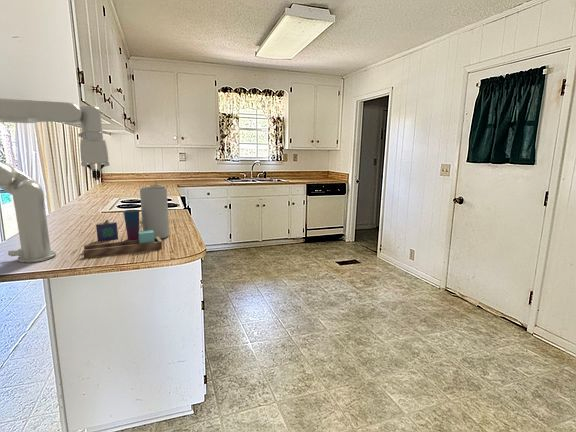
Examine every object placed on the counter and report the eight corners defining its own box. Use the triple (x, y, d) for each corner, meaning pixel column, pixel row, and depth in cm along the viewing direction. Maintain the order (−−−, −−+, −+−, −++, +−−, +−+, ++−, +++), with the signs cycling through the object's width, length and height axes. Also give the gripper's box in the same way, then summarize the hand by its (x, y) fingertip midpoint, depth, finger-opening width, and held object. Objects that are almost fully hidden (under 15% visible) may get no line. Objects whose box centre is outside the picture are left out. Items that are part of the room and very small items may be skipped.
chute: (84, 260, 136) (82, 250, 135) (85, 253, 145) (84, 243, 144) (162, 251, 150) (161, 241, 149) (159, 245, 159) (158, 236, 158)
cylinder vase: (167, 239, 169) (164, 189, 164) (141, 240, 166) (137, 190, 161) (170, 233, 181) (168, 186, 176) (145, 233, 178) (142, 186, 173)
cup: (125, 243, 161) (122, 212, 158) (127, 239, 167) (124, 209, 164) (140, 242, 163) (138, 211, 160) (142, 238, 169) (140, 209, 166)
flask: (117, 238, 168) (115, 217, 166) (119, 239, 166) (117, 218, 164) (97, 242, 162) (94, 220, 160) (99, 243, 160) (96, 221, 158)
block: (140, 249, 148) (139, 233, 146) (139, 246, 152) (138, 231, 151) (155, 247, 151) (154, 232, 149) (153, 244, 155) (152, 229, 153)
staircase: (160, 217, 223) (158, 178, 217) (167, 220, 214) (164, 180, 209) (148, 218, 218) (145, 179, 212) (154, 221, 209) (151, 180, 204)
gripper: (71, 135, 136) (76, 181, 140) (112, 136, 143) (116, 180, 147) (72, 136, 143) (77, 179, 146) (112, 137, 150) (115, 178, 153)
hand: (97, 179), depth 147 cm, fingers closed
